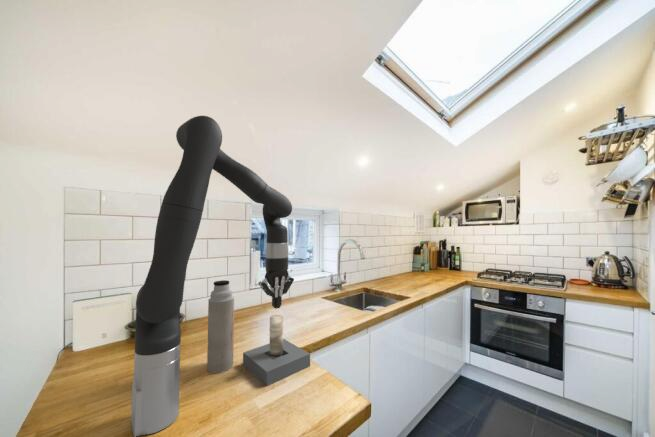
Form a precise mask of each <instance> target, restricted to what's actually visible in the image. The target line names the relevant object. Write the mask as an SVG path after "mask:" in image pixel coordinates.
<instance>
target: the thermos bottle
mask: <svg viewBox="0 0 655 437" xmlns="http://www.w3.org/2000/svg"><path fill="white" fill-rule="evenodd" d="M207 303H208V306H207V308H208V310H207V312H208V313H207V353H206V354H207V356H206V357H207V358H206V360H207V361H206V362H207V363H206V366H207V367H206V369H207V372H209V373H212V374H218V373H224V372H226V371H229V370H230V369H231V368H232V367H233V366H234V337H235V336H234V332H235V328H234V327H235V296H233V290H232V289H230V281H229V280H226V279H225V280H224V279H223V280H216V281H214V282H213V290H212V291H210V298H209V299H208V302H207Z"/></svg>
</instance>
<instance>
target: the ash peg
mask: <svg viewBox="0 0 655 437" xmlns="http://www.w3.org/2000/svg"><path fill="white" fill-rule="evenodd" d="M283 339H284V315H282V314H273V315H270V316H269V344H270V352H269V355H270V356H271V358H272V359H273V360H274V359H276V358H279V357H281V356H282V354H283Z"/></svg>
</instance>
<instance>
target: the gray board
mask: <svg viewBox="0 0 655 437" xmlns="http://www.w3.org/2000/svg"><path fill="white" fill-rule="evenodd" d="M269 352H270V343H267V344H264V345H261V346H259V347H256V348H252V349H249V350H246V351H243V353H242V365H243V366H244V367H245V368H246V369H247V370H248V371H249V372H250V373H252V374H253V375H254V376H255V378H257V379H258V380H260V382H262V383H263V385H265V386H267V387H268V386H270V385H272V384H274V383H277V382H279V381H281V380H283V379H286V378H288V377H289V376H291V375H294V374H296V373H298V372H300V371H302V370H305V369H308V368H310V367H311V354H310V353H309V352H308V351H306V350H305V349H302V348H301V347H299V346H297V345H295V344H294V343H292V342H290V341H289V340H286V339H285V338H283V354H282V356H281V357H279V358H276V359H274V360H273V359H272V358H271V356H270V355H269Z"/></svg>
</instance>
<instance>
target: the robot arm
mask: <svg viewBox="0 0 655 437" xmlns="http://www.w3.org/2000/svg"><path fill="white" fill-rule="evenodd" d="M175 135H176V137H175V138H176V141H177V144H178V146H179V147H180V148H181V150H183V154H182V158H181V162H180V164H179V167H178V169H177V171H176V173H175V174H174V176H173V178H172V180H171V182H170V183H169V185H168V187H167V189H166V191H165V192H164V196H163V198H162V201H161V205H160V209H159V212H158V213H159V214H158V217H157V222H156V227H155V234H154V244H153V255H152V259H151V264H150V267H149V269H148V272H147V275H146V278H145V281H144V284H143V285H142V286H141V287H140V289H139V290H138V292H137V294H136V299H135V313H136V314H135V330H134V361H133V363H134V364H133V365H134V366H133V381H132V382H131V409H130V412H131V414H130V425H131V429H132V430H131V431H132V435H133V437H136V436H137V437H140V436H144V435H145V436H146V434H147V435H151V434H154V433H155V434H156V433H158V432H160V431H163V430H164V429H166V428H168V427H169V426H170V425H172V424H173V423H174V422H175V421H176V420H177V418H178V416H179V415H180V414H179V413H180V381H181V380H180V379H181V378H180V376H181V374H180V373H181V372H180V371H181V337H182V336H181V335H182V334H181V333H182V332H181V306H182V305H183V300H184V291H185V282H186V276H187V270H188V264H189V260H190V256H191V254H192V251H193V248H194V245H195V242H196V239H197V235H198V232H199V228H200V225H201V221H202V217H203V212H204V207H205V203H206V202H205V201H206V198H207V193H208V189H209V184H210V179H211V175H212V173H213V172H212V171H215V172H216V173H218V174H219V175H221V176H222V177H223V178H225V179H226V180H227V181H229V182H230V183H231V184H232V185H233V186H235V187H236V188H237V189H239V191H240V192H242V193H243V194H245V195H246V196H247V197H248V198H249V199H250V200H251V201H253V202H254V203H257V204H260V205H262V216H263V221H264V226H265V229H266V245H265V275H264V278H263V280H262V281H261V280H260V281H258V285H259V287H260V289H262V291H263V292H264V293H265V295H266V296H268V297H271V306H272V308H273V309H275V310H276V309H280V308H281V306H282V300H283V298H282V296H283V295H286V294H287V293H288V291H289V290H290V288H291V286H292V284H293V282H294V281H295V278H293V277H291V276H290V274H289V272H288V270H289V245H288V238H289V237H288V236H289V235H288V234H289V233H288V228H287V226H285V225H283V224H282V222H281V219H286V218H287V217H289V216H290V215H291V214H292V211H293V204H292V203H291V200H290V199H289V198H288V197H287V196H286V195H284V193H282V192H280V191H278V190H277V189H275V188H273V187H271V186H270V185H269V184H268V183H267V182H266V181H265V180H264V179H262V177H260V176H259V175H258V174H257V173H256V172H255V171H253V169H250V168H249V167H247V166H246V165H244V164H242V163H241V162H238V161H237V160H235V159H234V158H232V157H231V156H229V155H228V154H227V153H226V152H225V151H223V150H222V149H221V146H222V142H223V132H222V129H221V127H220V125H219V123H218V122H217V121H216V120H215V119H214V118H212V117H210V116H207V115H197V116H193V117H191V118H190V119H188V120H187V121H185V122H183V123H182V124H181V125H180V126H179V127H178V128H177V131H176V134H175ZM268 285H269V286H268Z"/></svg>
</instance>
